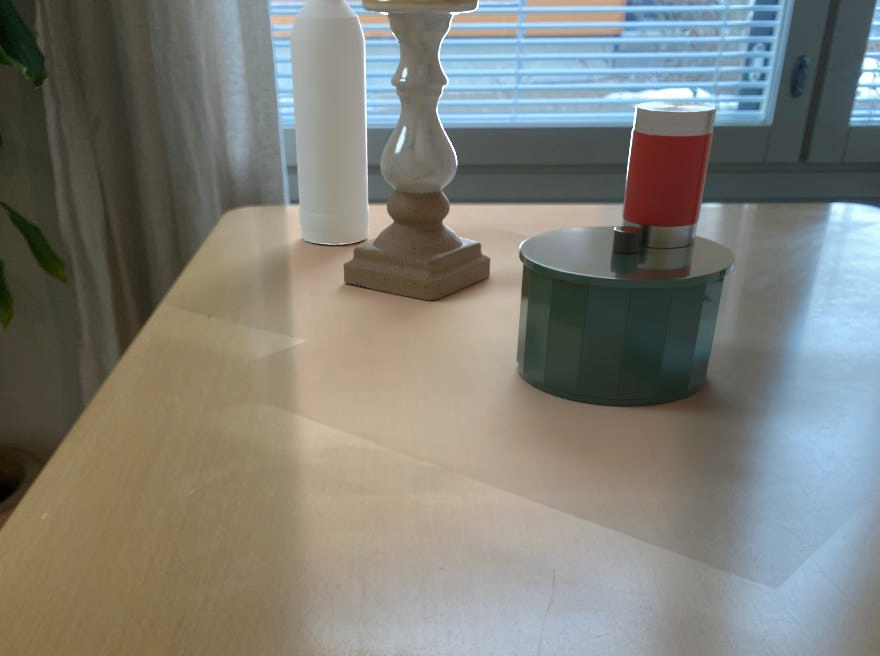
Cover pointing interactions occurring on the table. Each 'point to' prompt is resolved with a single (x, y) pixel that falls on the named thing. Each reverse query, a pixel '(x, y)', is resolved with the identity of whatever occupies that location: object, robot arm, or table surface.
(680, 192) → the can
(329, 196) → the bottle
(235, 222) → the table surface
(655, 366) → the pot
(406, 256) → the candle holder
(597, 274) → the pot lid
